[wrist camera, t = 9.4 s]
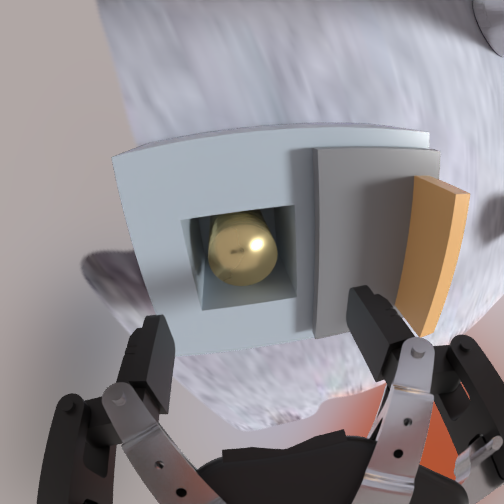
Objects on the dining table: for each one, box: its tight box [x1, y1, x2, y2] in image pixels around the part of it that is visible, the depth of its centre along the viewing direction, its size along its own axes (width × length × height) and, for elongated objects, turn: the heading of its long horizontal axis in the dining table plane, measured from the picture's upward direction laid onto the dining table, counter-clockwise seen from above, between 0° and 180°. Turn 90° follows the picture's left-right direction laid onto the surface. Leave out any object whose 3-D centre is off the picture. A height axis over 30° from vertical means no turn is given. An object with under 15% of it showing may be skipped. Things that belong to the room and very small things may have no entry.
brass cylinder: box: [208, 209, 278, 286], centre depth 19 cm, size 4×4×6 cm
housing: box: [112, 123, 429, 357], centre depth 19 cm, size 18×14×8 cm
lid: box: [312, 146, 470, 339], centre depth 14 cm, size 8×12×4 cm, turn 6°
